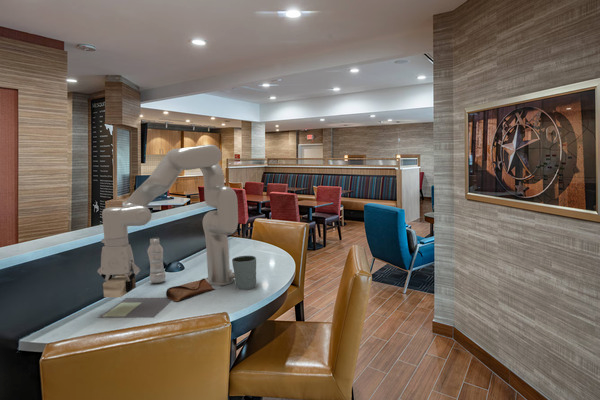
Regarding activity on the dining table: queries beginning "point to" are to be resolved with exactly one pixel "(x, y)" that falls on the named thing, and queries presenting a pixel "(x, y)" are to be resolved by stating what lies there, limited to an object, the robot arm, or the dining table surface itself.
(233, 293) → the dining table surface
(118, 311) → the mat
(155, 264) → the plastic bottle
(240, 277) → the grey cup
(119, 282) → the card box
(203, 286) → the sunglasses case
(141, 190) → the robot arm
